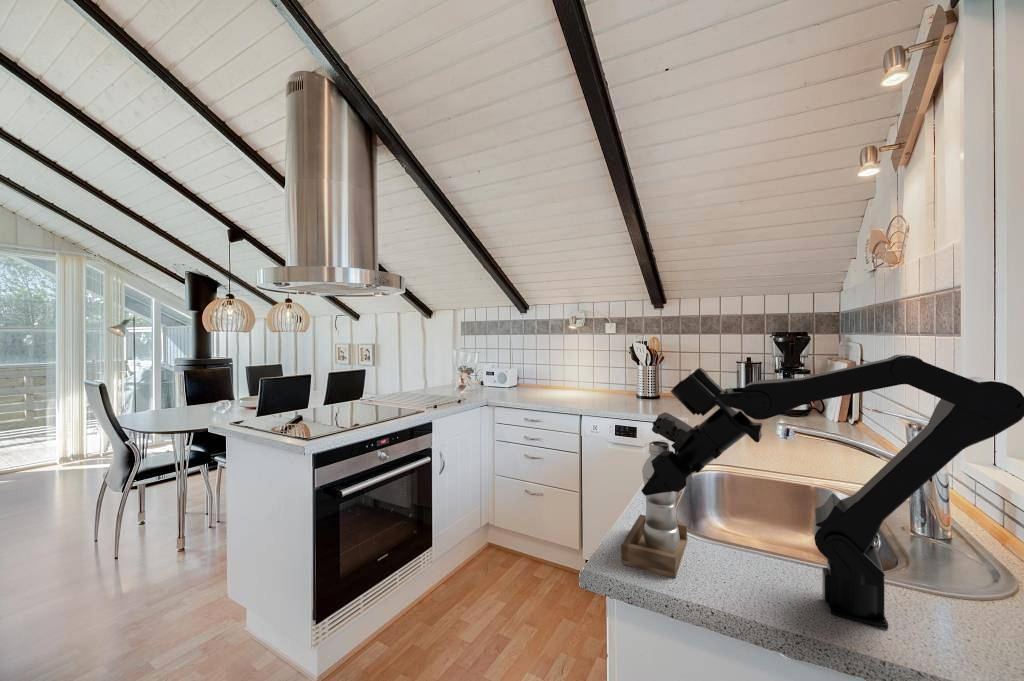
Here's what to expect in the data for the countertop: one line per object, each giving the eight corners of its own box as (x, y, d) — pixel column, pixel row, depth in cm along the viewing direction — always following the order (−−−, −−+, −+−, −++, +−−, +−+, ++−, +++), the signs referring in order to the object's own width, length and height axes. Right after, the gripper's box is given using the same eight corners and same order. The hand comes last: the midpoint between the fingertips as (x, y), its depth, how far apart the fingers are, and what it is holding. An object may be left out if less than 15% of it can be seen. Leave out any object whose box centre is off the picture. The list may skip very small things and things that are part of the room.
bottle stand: (687, 541, 84) (687, 523, 84) (675, 578, 71) (675, 557, 71) (640, 531, 88) (640, 514, 88) (621, 564, 76) (621, 544, 76)
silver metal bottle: (645, 557, 77) (642, 447, 76) (642, 539, 83) (639, 438, 83) (683, 560, 75) (680, 449, 75) (677, 541, 82) (674, 439, 81)
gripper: (694, 394, 84) (640, 441, 91) (663, 407, 69) (602, 462, 76) (738, 438, 79) (679, 485, 86) (715, 463, 64) (645, 517, 71)
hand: (652, 485), depth 80 cm, fingers open, 9 cm apart
